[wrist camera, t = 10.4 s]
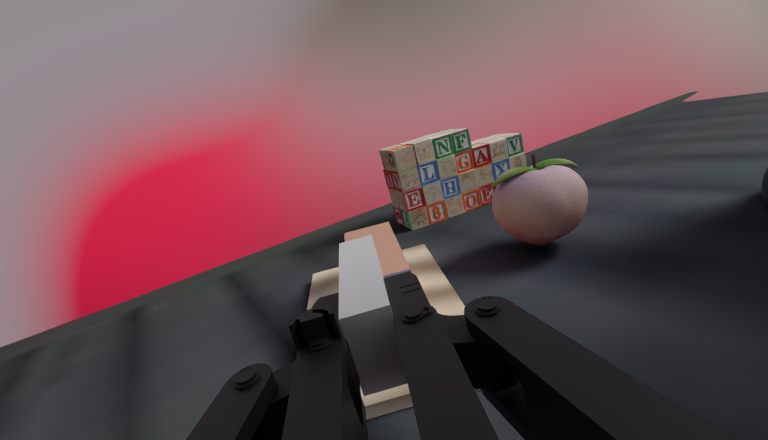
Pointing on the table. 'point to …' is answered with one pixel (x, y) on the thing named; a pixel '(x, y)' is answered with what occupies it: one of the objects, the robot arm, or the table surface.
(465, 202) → the stack of blocks
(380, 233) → the block
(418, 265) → the board
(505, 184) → the decorative fruit
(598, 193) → the table surface
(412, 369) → the robot arm
